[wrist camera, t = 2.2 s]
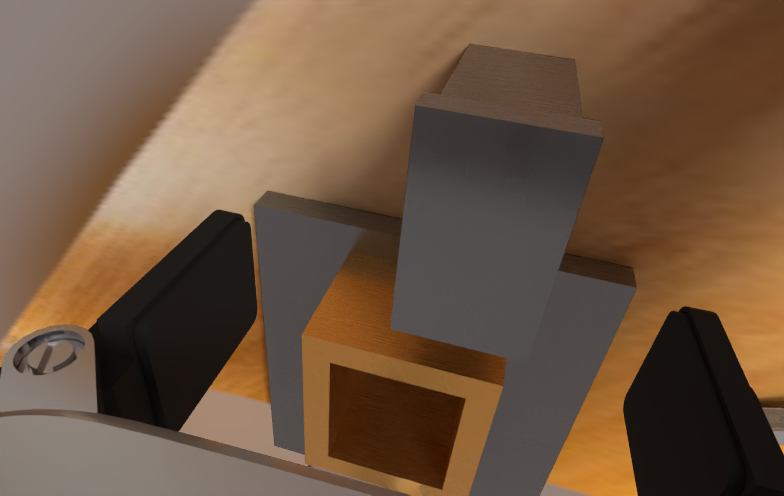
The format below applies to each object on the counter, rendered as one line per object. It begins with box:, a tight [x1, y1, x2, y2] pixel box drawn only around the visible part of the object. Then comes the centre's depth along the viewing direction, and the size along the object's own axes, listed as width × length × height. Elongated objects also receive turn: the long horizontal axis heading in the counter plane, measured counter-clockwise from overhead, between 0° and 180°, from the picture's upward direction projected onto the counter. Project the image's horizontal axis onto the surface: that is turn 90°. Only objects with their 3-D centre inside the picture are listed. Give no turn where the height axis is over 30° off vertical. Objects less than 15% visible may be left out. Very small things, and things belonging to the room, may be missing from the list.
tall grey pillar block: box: [390, 44, 604, 363], centre depth 17 cm, size 7×4×10 cm, turn 175°
